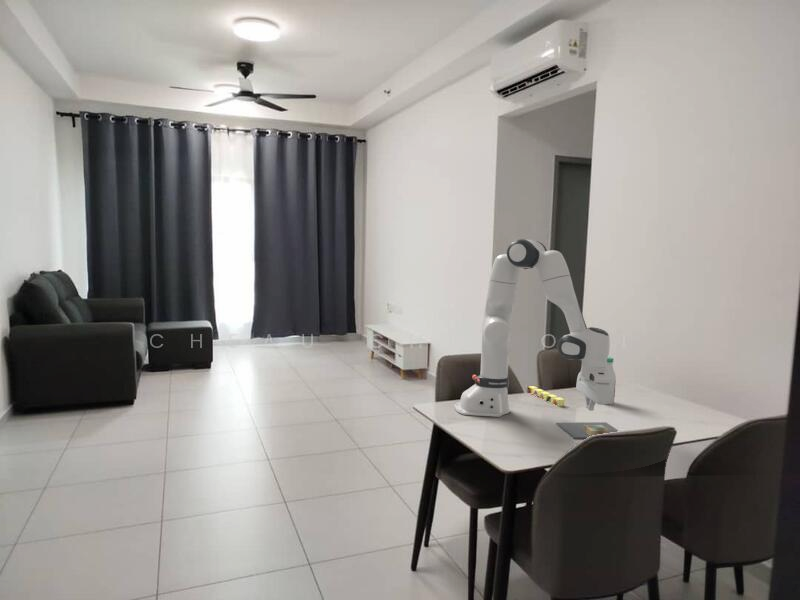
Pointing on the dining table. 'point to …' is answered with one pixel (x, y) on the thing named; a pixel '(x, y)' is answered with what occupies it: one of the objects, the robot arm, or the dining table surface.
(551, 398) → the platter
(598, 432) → the wooden u-shaped block
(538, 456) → the dining table surface
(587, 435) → the mat
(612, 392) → the milk bottle
